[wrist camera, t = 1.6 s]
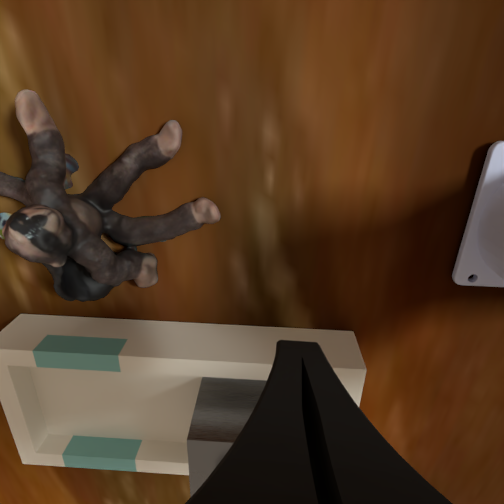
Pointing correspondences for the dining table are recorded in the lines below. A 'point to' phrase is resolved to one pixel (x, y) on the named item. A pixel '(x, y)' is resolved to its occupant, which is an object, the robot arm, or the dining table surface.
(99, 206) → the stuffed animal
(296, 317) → the dining table surface
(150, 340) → the white rectangular tray
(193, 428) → the rider
